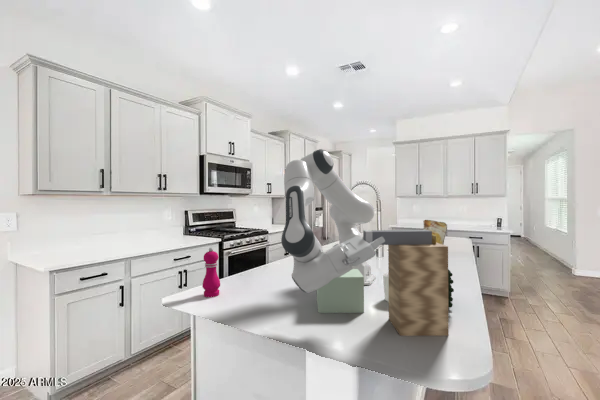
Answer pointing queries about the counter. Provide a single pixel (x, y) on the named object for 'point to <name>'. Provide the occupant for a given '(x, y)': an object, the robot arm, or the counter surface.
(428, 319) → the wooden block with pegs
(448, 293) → the toy figurine
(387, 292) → the white cup
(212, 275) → the pepper mill
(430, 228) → the pancake mix bag
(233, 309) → the counter surface
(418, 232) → the bar
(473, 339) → the counter surface
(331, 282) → the green platform
